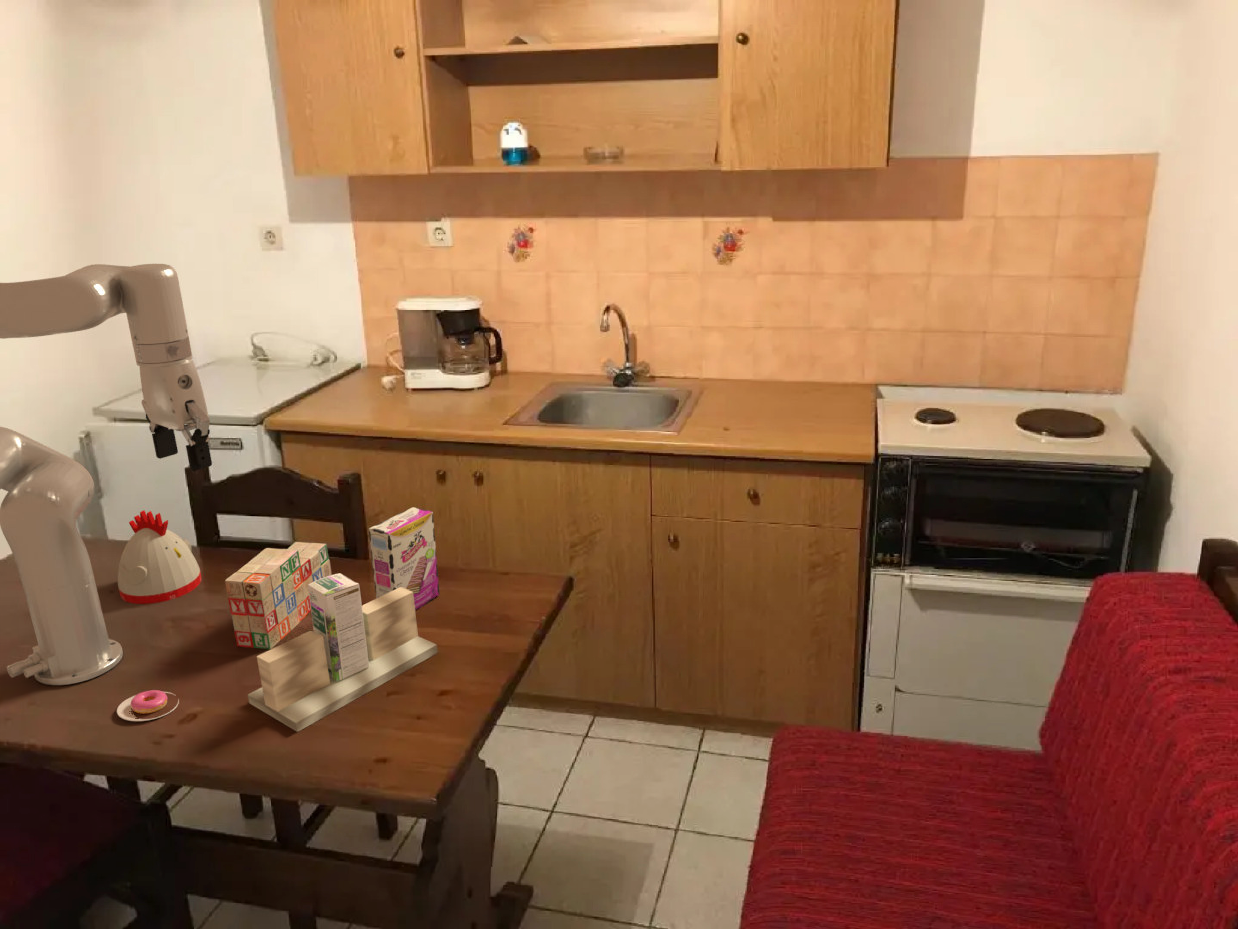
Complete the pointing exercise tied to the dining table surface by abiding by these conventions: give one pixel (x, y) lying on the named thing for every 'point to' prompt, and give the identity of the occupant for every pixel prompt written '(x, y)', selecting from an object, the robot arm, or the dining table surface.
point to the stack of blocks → (274, 592)
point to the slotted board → (348, 685)
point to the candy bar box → (406, 555)
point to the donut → (143, 704)
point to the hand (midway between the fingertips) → (184, 462)
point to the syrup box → (339, 624)
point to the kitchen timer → (156, 563)
